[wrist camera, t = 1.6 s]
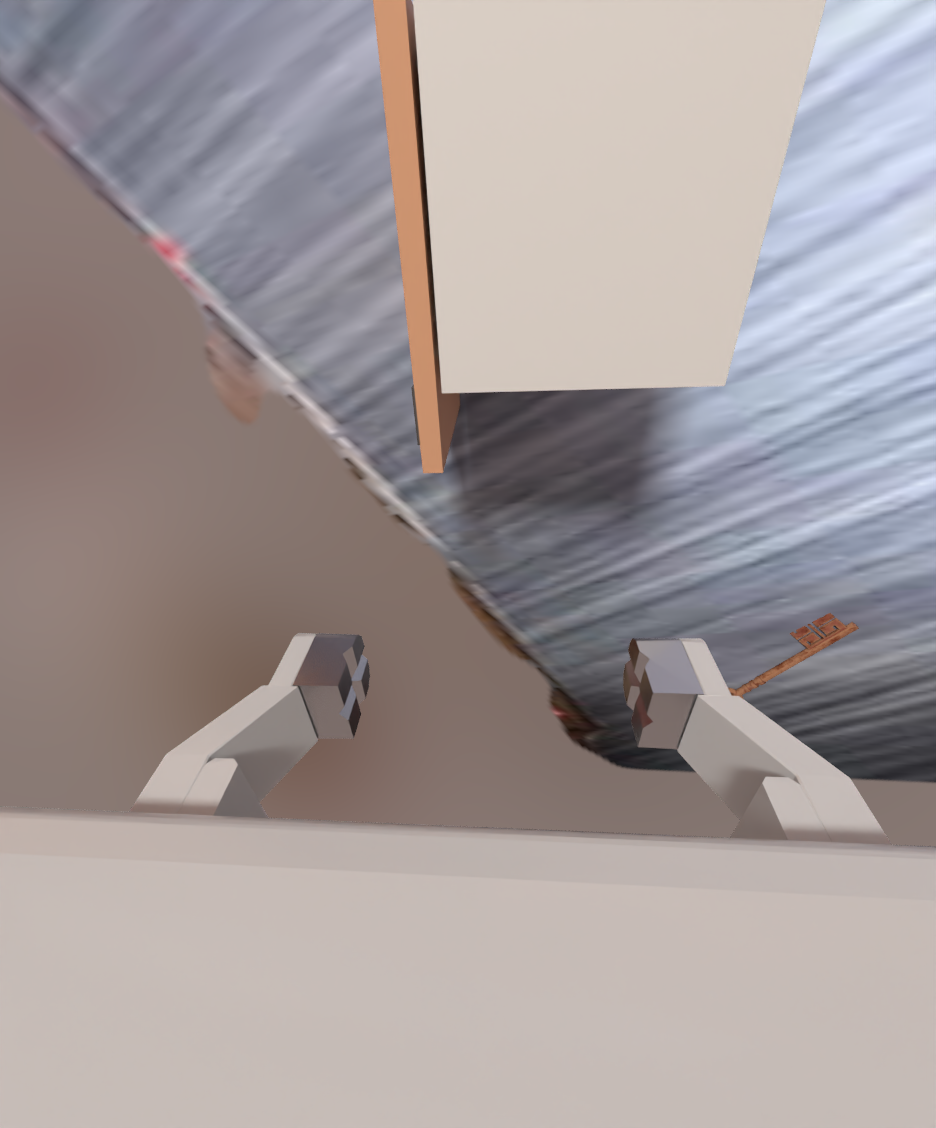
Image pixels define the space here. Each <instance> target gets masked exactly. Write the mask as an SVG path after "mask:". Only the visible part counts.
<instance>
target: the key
mask: <svg viewBox="0 0 936 1128" xmlns="http://www.w3.org/2000/svg"><path fill="white" fill-rule="evenodd" d="M833 618H834V616H833V615H832V614H831V613H829V614H827V615H825V616H824V617H822V618H819V619H817V620H815V621H813V622H812V623H813V624H815V625H816V626H817V627H819V626H821V625H823V624H824V623H826V622H828V621H829V620H831V619H833ZM834 625H835V626H836V627H837V628H838V629H836V630H835V629H834V628H833V626H834ZM808 626H810V627H811V628H812V629H813V630H814V631H816V632H817V633H818V634H819V635H820V636H822V638H819V637H818V636H817V635H815V634H814V633H813V632H812V633H810V634H808V633H809V632H811V631H810V630H809V629H808V628H807V627H805V626H804V627H802V628H800V629H798V630H796V631H797V633H794V632H792V633H790V634H791V635H792V636H793V637H795V638H796V639H797V640H798V639H799V638H801V637H803V636H804V635H806V634H808V635H806V636H805V637H803V638H801V639H800V640H799V642H801V643H802V644H803V645H804V646H806V647H807V649H805V650H803V651H801V652H800V653H798V654H796V655H794V656H793V657H791V658H789V659H787V660H786V661H784V662H782V663H781V664H779V665H777V666H775V667H774V668H772V669H770V670H768V671H767V672H765V673H763V674H762V675H760V676H757V677H756V678H755V679H754V680H751V681H749V683H747V684H744V685H742V687H740V688H738V689H737V690H735V689H732V688H728V689H729V691H730V693H731V695H732V696H740V697H741V698H742V699H744V698H743V696H742V695H743V694H745V693H746V692H750V691H751V690H752V689H753V688H757V687H758V686H759V685H763V684H765V683H766V681H768V680H770V679H772V678H773V677H775V676H777V675H779V674H780V673H782V672H784V671H786V670H787V669H789V668H791V667H793V666H794V665H796V664H798V663H799V662H801V661H803V660H805V659H806V658H808V657H810V656H812V655H813V654H815V653H817V652H819V651H820V650H822V649H824V648H826V647H827V646H829V645H831V644H833V643H834V642H836V641H838V640H840V639H841V638H843V637H845V636H846V635H848V634H850V633H852V632H853V631H855V630H857V629H859V628H858V626H856V625H855V624H854V623H853V622H851V623H850V624H848V625H846V626H845V625H844V624H843V623H841V622H840V621H839V620H838V619H837V618H835V619H834V620H832V621H830V622H828V623H827V624H825V625H823V626H822V627H820V628H819V629H821V630H822V631H823V632H824V633H825V634H826V636H824V635H823V634H822V633H820V632H819V631H818V630H817V629H815V628H814V627H813V626H812V625H810V624H808ZM834 630H835V631H834ZM832 631H833V632H832ZM830 632H831V633H830ZM827 634H828V635H827ZM818 639H819V640H818ZM807 641H809V642H810V643H811V644H810V645H809V644H808V643H807Z"/></svg>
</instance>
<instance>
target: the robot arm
mask: <svg viewBox="0 0 936 1128" xmlns="http://www.w3.org/2000/svg"><path fill="white" fill-rule="evenodd" d="M363 649H364V643H363V640H362V637H361V636H359V635H346V634H344V635H343V634H320V633H319V634H308V633H307V634H306V633H298V634H297V635H296V636H294V638H293V639H292V641H291V643H290V645H289V647H288V649H287V651H286V653H285V654H284V656H283V658H282V660H281V662H280V664H279V666H278V668H277V670H276V672H275V674H274V676H273V678H272V679H271V681H270V683H269V685H268V686H261V687H260V688H258V689H257V690H255V691H254V692H253V693H251V694H250V695H248V696H247V697H246V698H244V699H243V700H241V701H240V702H239V703H237V704H236V705H234V706H233V707H232V708H230V709H229V710H228V711H226V712H225V713H223V714H222V715H220V717H218V718H216V719H215V720H214V721H212V722H211V723H209V724H208V725H207V726H205V727H204V728H202V729H201V730H200V731H198V732H197V733H195V734H194V735H193V736H191V737H190V738H188V739H187V740H186V741H184V742H183V743H182V744H180V745H179V746H177V747H176V748H175V749H173V750H172V751H170V752H169V753H167V754H166V755H165V757H164V759H163V760H162V762H161V763H160V765H159V766H158V768H157V770H156V771H155V772H154V774H153V776H152V777H151V779H150V780H149V782H148V783H147V785H146V786H145V788H144V790H143V791H142V793H141V794H140V796H139V797H138V799H137V800H136V802H135V803H134V805H133V807H132V808H131V810H130V811H129V812H119V811H97V810H74V809H51V808H29V807H6V806H5V807H4V806H0V1128H936V847H931V846H908V845H892V844H891V843H890V841H889V840H888V838H887V836H886V835H885V833H884V832H883V830H882V828H881V827H880V825H879V824H878V822H877V820H876V819H875V818H874V816H873V814H872V812H871V811H870V809H869V808H868V806H867V805H866V803H865V801H864V800H863V798H862V797H861V795H860V794H859V792H858V790H857V789H856V787H855V785H854V784H853V782H852V781H851V779H850V778H849V777H848V776H846V775H845V774H844V773H842V772H841V771H840V770H838V769H837V768H836V767H834V766H833V765H832V764H830V763H829V762H827V761H826V760H825V759H823V758H822V757H821V756H819V755H818V754H817V753H815V752H814V751H813V750H811V749H810V748H809V747H807V746H806V745H804V744H803V743H802V742H800V741H799V740H798V739H796V738H795V737H794V736H792V735H791V734H790V733H788V732H787V731H786V730H784V729H783V728H782V727H780V726H779V725H777V724H776V723H775V722H773V721H772V720H771V719H769V718H768V717H767V716H765V715H764V714H763V713H761V712H760V711H759V710H757V709H756V708H754V707H753V706H752V705H750V704H749V703H748V702H746V701H745V700H744V699H742V698H741V697H740V696H732V695H731V693H730V691H729V689H728V687H727V685H726V683H725V681H724V679H723V677H722V675H721V673H720V671H719V669H718V667H717V665H716V663H715V661H714V659H713V657H712V655H711V653H710V651H709V649H708V647H707V645H706V643H705V641H703V640H702V639H701V638H678V639H675V638H632V640H631V642H630V644H629V649H628V652H629V655H630V659H631V660H630V661H628V662H627V663H626V664H625V668H624V673H623V688H624V695H625V699H626V703H627V705H628V706H629V707H630V708H631V709H632V710H633V715H632V719H631V723H632V726H633V730H634V734H635V738H636V741H637V745H638V747H648V748H666V749H678V750H677V751H678V752H679V753H680V755H681V756H682V757H683V758H684V759H685V760H686V761H687V762H688V763H689V765H690V766H691V767H692V768H693V769H694V770H695V771H696V772H697V773H698V775H699V776H700V777H701V778H702V779H703V780H704V781H705V782H706V783H707V784H708V786H710V788H711V789H712V790H713V791H714V792H715V793H716V794H717V796H719V798H720V799H721V800H722V801H723V802H724V803H725V804H726V805H727V807H728V808H729V809H730V810H731V811H732V812H733V813H734V814H735V815H736V817H737V818H738V819H739V820H740V822H739V823H738V825H737V827H736V828H735V830H734V832H733V833H732V835H731V837H730V838H723V837H698V836H675V835H652V834H630V833H606V832H583V831H582V832H581V831H560V830H558V831H557V830H536V829H513V828H488V827H466V826H442V825H418V824H393V823H372V822H371V823H370V822H347V821H325V820H302V819H280V818H268V816H267V815H266V813H265V811H264V809H263V808H262V806H261V804H260V801H261V800H262V799H263V798H264V797H265V796H266V795H267V794H268V793H269V792H270V791H271V790H272V789H273V788H274V786H275V785H276V784H277V783H278V782H279V781H280V780H281V779H282V778H283V777H284V776H285V775H286V774H287V773H288V772H289V771H290V770H291V768H292V767H293V766H294V765H295V764H296V763H297V762H298V761H299V760H300V759H301V758H302V757H303V756H304V755H305V754H306V753H307V751H309V749H310V748H311V747H312V746H313V745H314V744H315V743H316V742H317V741H318V739H317V738H354V735H355V732H356V729H357V725H358V722H359V719H360V716H361V712H360V709H359V704H360V703H361V702H362V701H363V700H364V699H365V698H366V695H367V691H368V687H369V678H370V674H369V665H368V660H367V659H366V658H365V657H364V656H362V652H363Z"/></svg>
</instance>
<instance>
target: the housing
mask: <svg viewBox="0 0 936 1128" xmlns="http://www.w3.org/2000/svg"><path fill="white" fill-rule="evenodd" d="M825 3H826V0H413V7H414V20H415V34H416V47H417V61H418V75H419V88H420V102H421V116H422V129H423V143H424V156H425V170H426V184H427V197H428V211H429V225H430V238H431V252H432V265H433V279H434V293H435V306H436V320H437V334H438V347H439V361H440V374H441V388H442V393H476V392H514V391H552V390H591V389H629V388H667V387H705V386H725V383H726V379H727V376H728V372H729V368H730V364H731V360H732V357H733V353H734V349H735V345H736V341H737V338H738V334H739V330H740V326H741V322H742V319H743V315H744V311H745V307H746V303H747V300H748V296H749V292H750V288H751V284H752V281H753V277H754V273H755V269H756V265H757V262H758V258H759V254H760V250H761V246H762V242H763V239H764V235H765V231H766V227H767V223H768V220H769V216H770V212H771V208H772V204H773V201H774V197H775V193H776V189H777V185H778V182H779V178H780V174H781V170H782V166H783V163H784V159H785V155H786V151H787V147H788V144H789V140H790V136H791V132H792V128H793V125H794V121H795V117H796V113H797V109H798V106H799V102H800V98H801V94H802V90H803V87H804V83H805V79H806V75H807V71H808V68H809V64H810V60H811V56H812V52H813V48H814V45H815V41H816V37H817V33H818V29H819V26H820V22H821V18H822V14H823V10H824V7H825Z"/></svg>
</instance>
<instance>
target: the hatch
mask: <svg viewBox="0 0 936 1128" xmlns="http://www.w3.org/2000/svg"><path fill="white" fill-rule="evenodd" d="M373 4H374V13H375V23H376V32H377V41H378V51H379V60H380V70H381V79H382V89H383V98H384V108H385V117H386V126H387V136H388V145H389V155H390V164H391V174H392V183H393V193H394V202H395V211H396V221H397V230H398V240H399V249H400V259H401V268H402V278H403V287H404V296H405V306H406V315H407V325H408V334H409V344H410V353H411V363H412V372H413V381H414V384H413V386H412V396H413V405H414V415H415V424H416V433H417V442H418V445H420V448H421V457H422V466H423V473H443V471H444V467H445V463H446V459H447V455H448V451H449V447H450V443H451V439H452V435H453V431H454V428H455V424H456V420H457V416H458V412H459V408H460V394H459V393H442V388H441V374H440V361H439V347H438V334H437V320H436V306H435V293H434V279H433V265H432V252H431V238H430V225H429V211H428V197H427V184H426V170H425V156H424V143H423V129H422V116H421V102H420V88H419V75H418V61H417V47H416V34H415V20H414V7H413V3H412V1H411V0H373Z"/></svg>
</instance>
